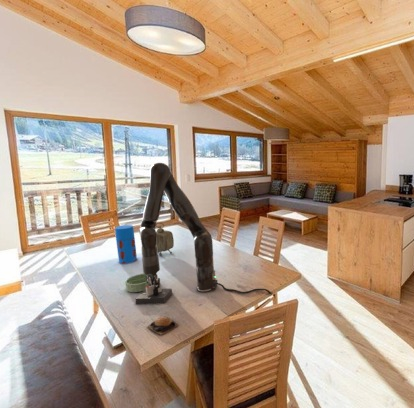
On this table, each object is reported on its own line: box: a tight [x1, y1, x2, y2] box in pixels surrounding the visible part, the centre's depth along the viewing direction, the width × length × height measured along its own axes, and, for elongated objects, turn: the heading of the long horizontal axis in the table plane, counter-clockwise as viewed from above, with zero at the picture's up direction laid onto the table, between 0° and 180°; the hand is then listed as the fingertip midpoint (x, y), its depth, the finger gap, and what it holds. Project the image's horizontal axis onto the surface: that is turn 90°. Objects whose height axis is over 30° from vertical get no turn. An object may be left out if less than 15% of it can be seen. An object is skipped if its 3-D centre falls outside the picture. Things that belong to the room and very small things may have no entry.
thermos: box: [114, 224, 138, 265], centre depth 195 cm, size 11×11×25 cm
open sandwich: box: [147, 316, 178, 336], centre depth 122 cm, size 11×8×4 cm
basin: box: [124, 273, 149, 293], centre depth 159 cm, size 15×15×5 cm
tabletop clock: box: [155, 222, 175, 257], centre depth 207 cm, size 14×9×25 cm, turn 79°
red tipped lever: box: [146, 282, 163, 296], centre depth 145 cm, size 7×2×5 cm, turn 139°
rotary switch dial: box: [135, 288, 173, 305], centre depth 146 cm, size 14×11×3 cm
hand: (154, 293), depth 146 cm, fingers closed on rotary switch dial, 4 cm apart
